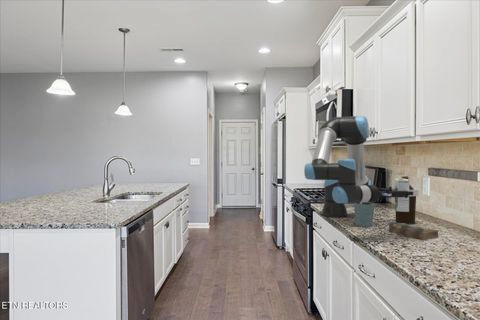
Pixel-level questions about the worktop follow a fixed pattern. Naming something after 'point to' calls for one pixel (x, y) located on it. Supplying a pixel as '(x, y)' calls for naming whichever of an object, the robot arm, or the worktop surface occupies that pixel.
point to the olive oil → (409, 216)
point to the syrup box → (401, 202)
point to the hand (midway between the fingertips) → (411, 191)
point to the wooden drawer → (412, 231)
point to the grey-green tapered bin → (364, 214)
